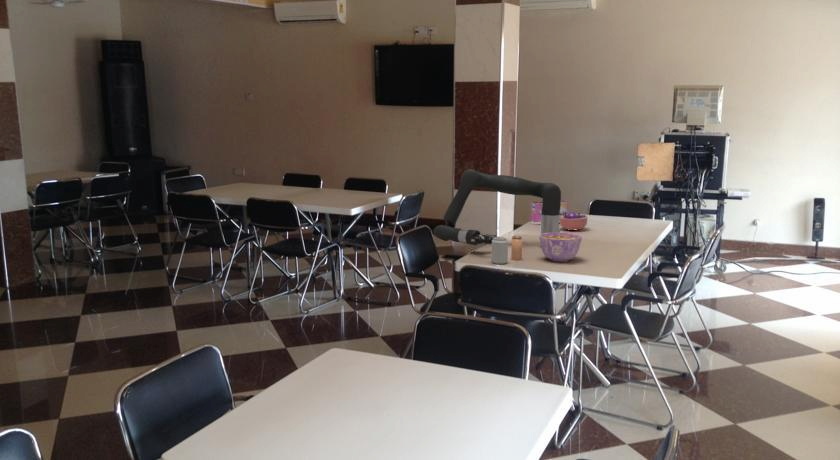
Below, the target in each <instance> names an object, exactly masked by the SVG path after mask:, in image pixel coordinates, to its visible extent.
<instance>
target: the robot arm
mask: <svg viewBox="0 0 840 460" xmlns="http://www.w3.org/2000/svg"><path fill="white" fill-rule="evenodd" d="M474 188H480V189H488V190H491V191H494V192H498V193H502V194H505V195H506V194H507V195H514V196H531V197H537V198H540V199H542V202H543V203H542V210H541V225H540V234H543V233H561V229H560V224H559V214H560V207H561V201H562V191H561V188H560V187H559V186H558V185H557V184H555V183H553V182H538V181H531V180H528V179H525V178H523V177H522V178H521V177H518V176H512V175H507V174H506V175H505V174H489V173H483V172H479V171H477V170H475V169H474V168H469V169H465V170H464V171H463V172H462V173H461V176H460V183H459V186H458V189H457V190H456V193H455V195H454V197H453V198H452V200H451V202H450V204H449V205H448V208H447V209H446V211H445V213H444V216H443V220H444V222H445V223H444V225H443V224H440V225H437V226H435V227H434V229H433V235H434V237H435V238H437V239H439V240H441V241H444V242H448V241H452V242H455V243H462V244H464V245H472V246H478V245H482V244H483V245H486V244H487V245H492V240H493V238H494V237H497V234H489V233H486V234H484V233H482V234H481V232H480V231H479V230H478V229H472V228H471V229H470V228H458V227H456V223H457V222H458V219H459V218H460V215H461V213H462V211H463V208H464V207H465V204H466V201H467V200H468V198H469V195H470V194H471V193H472V191H473V190H474Z"/></svg>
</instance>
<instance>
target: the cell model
mask: <svg viewBox="0 0 840 460" xmlns="http://www.w3.org/2000/svg"><path fill="white" fill-rule="evenodd" d="M559 219H560V221H559V223H560V224H559V226H560V227H562V228H563V229H564V228H565V230H567V229H569V230H574V229H580V230H582V229H584V228H585V227H586V226H587V224H588V216H587V215H586V214H581V213H580V212H578V213H575V212H574V211H573V212H572V211H570V212H568V214H567V215H560V216H559ZM569 230H568V231H569Z"/></svg>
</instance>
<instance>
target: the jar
mask: <svg viewBox="0 0 840 460" xmlns="http://www.w3.org/2000/svg"><path fill="white" fill-rule="evenodd" d="M510 248H511V250H510V251H511V256H510V259H511V260H512V261H522V260H523V238H522V235H513V236H512V237H511V247H510Z"/></svg>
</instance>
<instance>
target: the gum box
mask: <svg viewBox="0 0 840 460" xmlns="http://www.w3.org/2000/svg"><path fill="white" fill-rule="evenodd" d="M542 203H543V201H536V202H535V201H533V202H532V201H531V202H530V222H532V221H533V222H541V210H542ZM568 213H569V202H565V200H561V207H560V214H559V216H560V215H567V214H568ZM559 221H560V219H559Z"/></svg>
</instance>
